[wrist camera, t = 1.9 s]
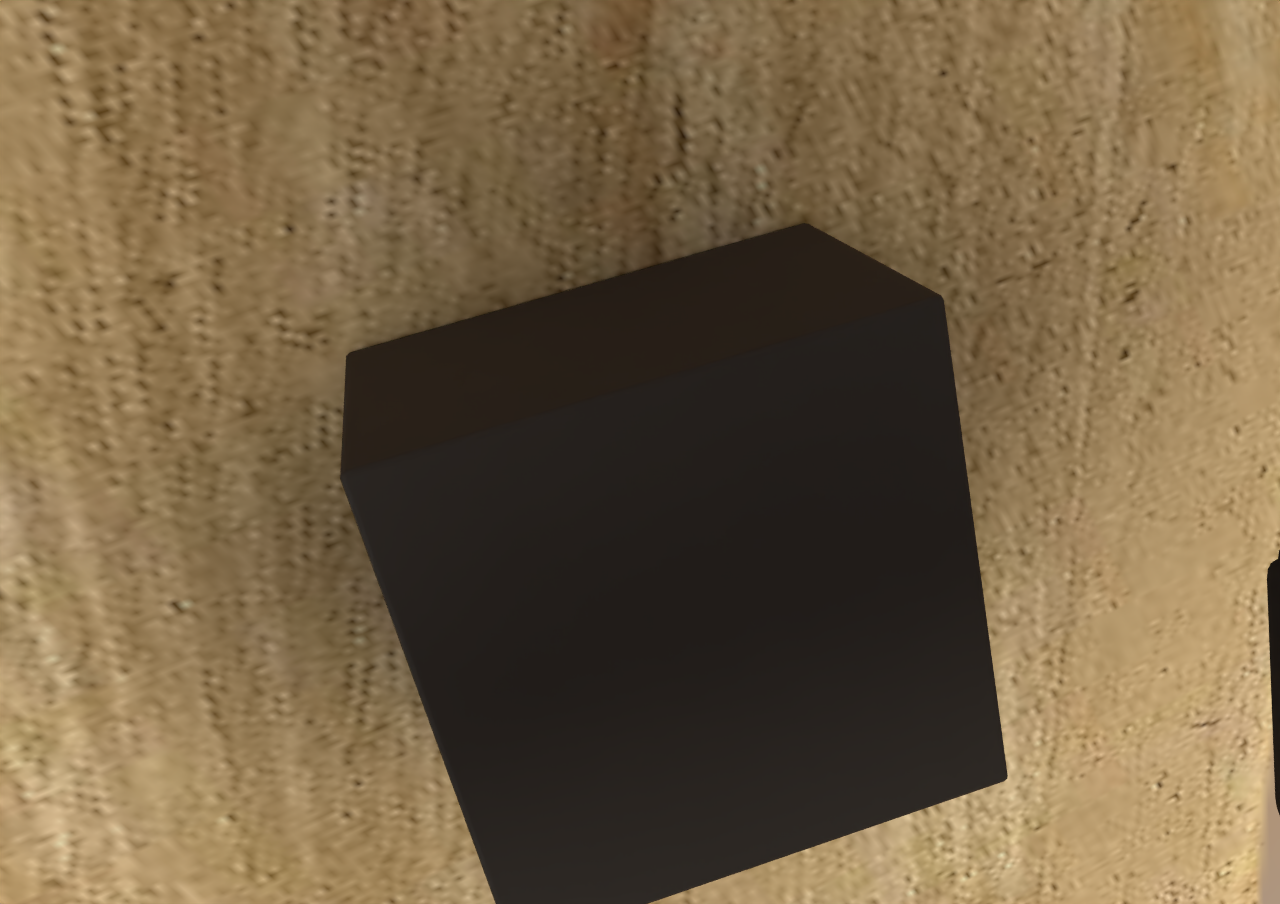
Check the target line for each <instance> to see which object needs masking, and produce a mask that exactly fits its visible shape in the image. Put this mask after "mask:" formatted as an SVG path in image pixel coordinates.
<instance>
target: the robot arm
mask: <svg viewBox="0 0 1280 904" xmlns="http://www.w3.org/2000/svg"><path fill="white" fill-rule="evenodd" d="M1267 590H1268V616H1269V643H1270V669H1271V695H1272V721H1273V747H1274V774H1275V799H1276V805H1277V809H1278V812H1279V815H1280V550H1279V556H1278V559H1277V560H1275V561H1274V562H1272V563H1271V564H1270V566H1269V568H1268V574H1267Z"/></svg>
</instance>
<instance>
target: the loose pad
mask: <svg viewBox="0 0 1280 904" xmlns="http://www.w3.org/2000/svg"><path fill="white" fill-rule="evenodd" d="M340 479H341V482H342V485H343V488H344V490H345V493H346V496H347V498H348V501H349V504H350V507H351V509H352V512H353V515H354V518H355V520H356V523H357V526H358V529H359V531H360V534H361V537H362V539H363V542H364V545H365V548H366V550H367V553H368V556H369V559H370V561H371V564H372V567H373V570H374V572H375V575H376V578H377V580H378V583H379V586H380V589H381V591H382V594H383V597H384V600H385V602H386V605H387V608H388V611H389V613H390V616H391V619H392V621H393V624H394V627H395V630H396V632H397V635H398V638H399V641H400V643H401V646H402V649H403V651H404V654H405V657H406V660H407V662H408V665H409V668H410V671H411V673H412V676H413V679H414V682H415V684H416V687H417V690H418V692H419V695H420V698H421V701H422V703H423V706H424V709H425V712H426V714H427V717H428V720H429V723H430V725H431V728H432V731H433V733H434V736H435V739H436V742H437V744H438V747H439V750H440V753H441V755H442V758H443V761H444V764H445V766H446V769H447V772H448V774H449V777H450V780H451V783H452V785H453V788H454V791H455V794H456V796H457V799H458V802H459V805H460V807H461V810H462V813H463V815H464V818H465V821H466V824H467V826H468V829H469V832H470V835H471V837H472V840H473V843H474V846H475V848H476V851H477V854H478V856H479V859H480V862H481V865H482V867H483V870H484V873H485V876H486V878H487V881H488V884H489V886H490V889H491V892H492V895H493V897H494V900H495V903H496V904H648V903H651V902H654V901H657V900H659V899H662V898H665V897H668V896H671V895H674V894H677V893H680V892H683V891H686V890H689V889H691V888H694V887H697V886H700V885H703V884H706V883H709V882H712V881H715V880H718V879H721V878H723V877H726V876H729V875H732V874H735V873H738V872H741V871H744V870H747V869H750V868H753V867H756V866H758V865H761V864H764V863H767V862H770V861H773V860H776V859H779V858H782V857H785V856H788V855H790V854H793V853H796V852H799V851H802V850H805V849H808V848H811V847H814V846H817V845H820V844H822V843H825V842H828V841H831V840H834V839H837V838H840V837H843V836H846V835H849V834H852V833H855V832H857V831H860V830H863V829H866V828H869V827H872V826H875V825H878V824H881V823H884V822H887V821H889V820H892V819H895V818H898V817H901V816H904V815H907V814H910V813H913V812H916V811H919V810H921V809H924V808H927V807H930V806H933V805H936V804H939V803H942V802H945V801H948V800H951V799H953V798H956V797H959V796H962V795H965V794H968V793H971V792H974V791H977V790H980V789H983V788H986V787H988V786H991V785H994V784H997V783H1000V782H1003V781H1005V780H1006V779H1007V776H1008V775H1007V768H1006V760H1005V753H1004V745H1003V738H1002V731H1001V723H1000V716H999V708H998V701H997V693H996V686H995V678H994V671H993V663H992V656H991V648H990V641H989V634H988V626H987V619H986V611H985V604H984V596H983V589H982V581H981V574H980V566H979V559H978V552H977V544H976V537H975V529H974V522H973V514H972V507H971V499H970V492H969V484H968V477H967V469H966V462H965V455H964V447H963V440H962V432H961V425H960V417H959V410H958V402H957V395H956V387H955V380H954V372H953V365H952V358H951V350H950V343H949V335H948V328H947V320H946V313H945V305H944V300H943V298H942V296H941V295H939V294H937V293H935V292H934V291H932V290H930V289H928V288H926V287H924V286H922V285H921V284H919V283H917V282H915V281H913V280H911V279H910V278H908V277H906V276H904V275H902V274H900V273H898V272H897V271H895V270H893V269H891V268H889V267H887V266H885V265H884V264H882V263H880V262H878V261H876V260H874V259H872V258H871V257H869V256H867V255H865V254H863V253H861V252H860V251H858V250H856V249H854V248H852V247H850V246H848V245H847V244H845V243H843V242H841V241H839V240H837V239H835V238H834V237H832V236H830V235H828V234H826V233H824V232H822V231H821V230H819V229H817V228H815V227H813V226H811V225H809V224H805V223H803V224H800V225H796V226H793V227H789V228H786V229H782V230H779V231H775V232H772V233H768V234H765V235H761V236H758V237H754V238H751V239H747V240H744V241H740V242H737V243H733V244H730V245H726V246H723V247H719V248H716V249H712V250H709V251H705V252H702V253H698V254H695V255H691V256H688V257H684V258H681V259H677V260H674V261H670V262H667V263H663V264H660V265H656V266H653V267H649V268H646V269H642V270H639V271H635V272H632V273H628V274H625V275H621V276H618V277H614V278H611V279H607V280H604V281H600V282H597V283H593V284H590V285H586V286H583V287H579V288H576V289H572V290H569V291H565V292H562V293H558V294H555V295H551V296H548V297H544V298H541V299H537V300H533V301H530V302H526V303H523V304H519V305H516V306H512V307H509V308H505V309H502V310H498V311H495V312H491V313H488V314H484V315H481V316H477V317H474V318H470V319H467V320H463V321H460V322H456V323H453V324H449V325H446V326H442V327H439V328H435V329H432V330H428V331H425V332H421V333H418V334H414V335H411V336H407V337H404V338H400V339H397V340H393V341H390V342H386V343H383V344H379V345H376V346H372V347H369V348H365V349H362V350H358V351H355V352H351V353H349V354H348V355H347V356H346V372H345V392H344V413H343V434H342V454H341V475H340Z"/></svg>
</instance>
